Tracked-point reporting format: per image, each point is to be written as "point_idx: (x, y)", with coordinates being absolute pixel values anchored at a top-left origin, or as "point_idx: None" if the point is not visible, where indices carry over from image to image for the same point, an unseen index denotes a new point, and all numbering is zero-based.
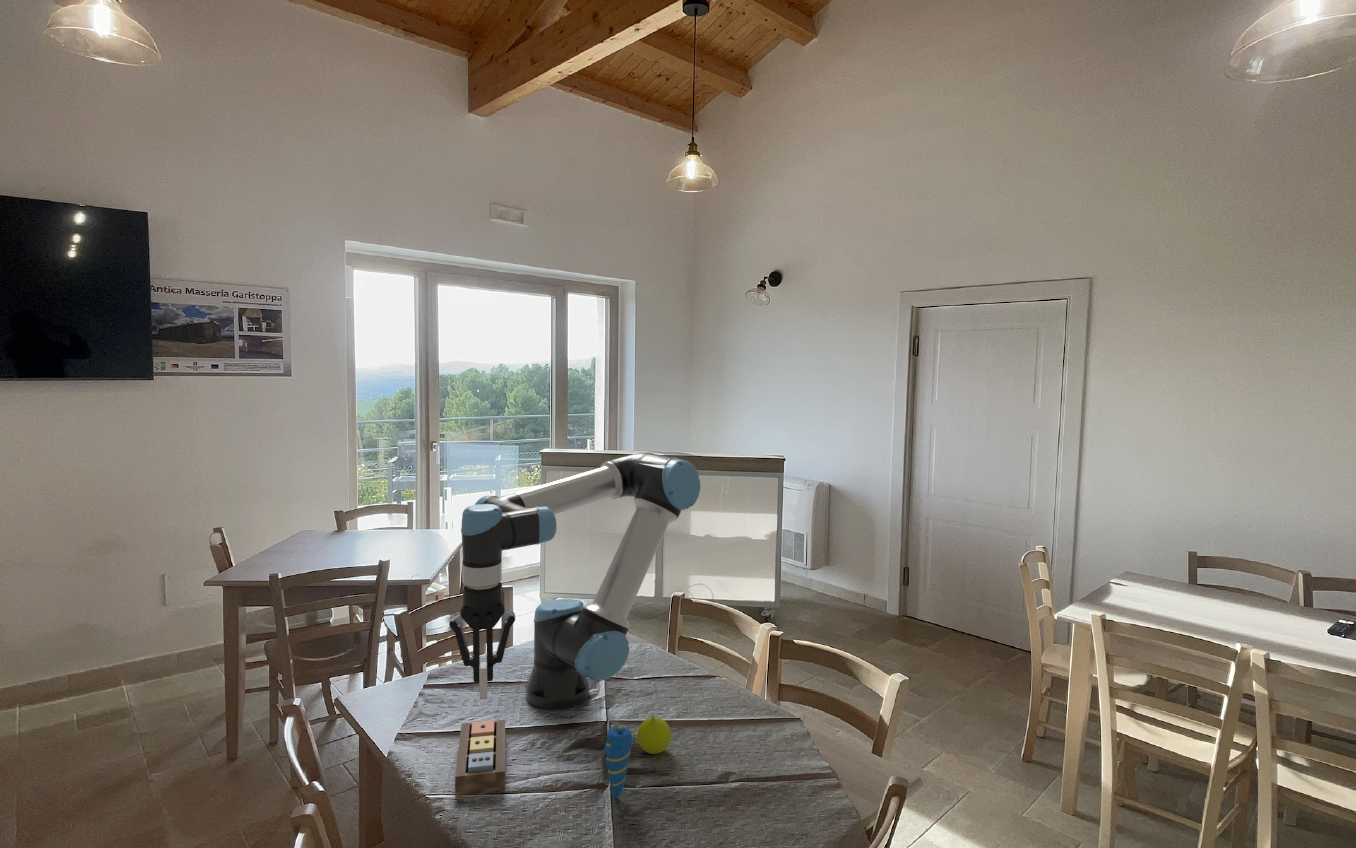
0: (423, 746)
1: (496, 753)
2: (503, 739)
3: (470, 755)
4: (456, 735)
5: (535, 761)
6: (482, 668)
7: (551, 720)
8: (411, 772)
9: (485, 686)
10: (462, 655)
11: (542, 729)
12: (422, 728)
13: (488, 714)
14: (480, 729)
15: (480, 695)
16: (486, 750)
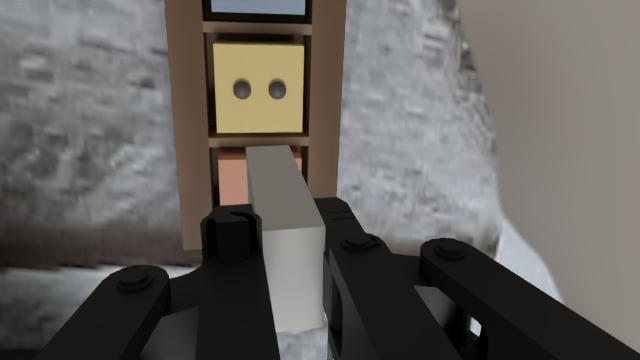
0: (427, 202)
1: (200, 22)
2: (179, 118)
3: (300, 3)
4: None
5: (65, 55)
6: (298, 228)
7: (32, 294)
8: (461, 74)
9: (261, 173)
10: (536, 295)
11: (60, 246)
12: None
13: None
14: None
15: (287, 153)
16: (240, 43)
